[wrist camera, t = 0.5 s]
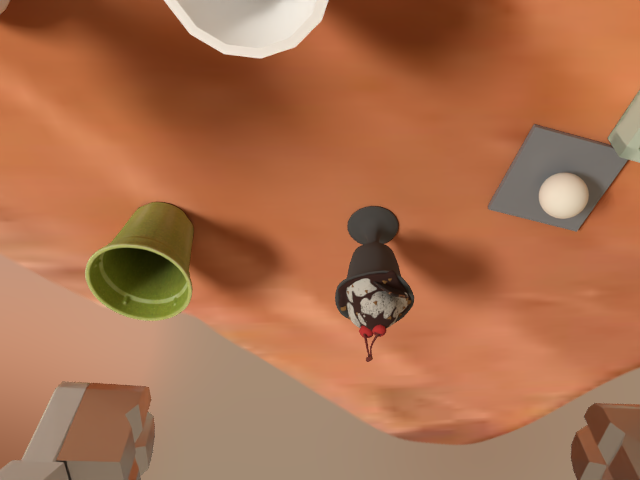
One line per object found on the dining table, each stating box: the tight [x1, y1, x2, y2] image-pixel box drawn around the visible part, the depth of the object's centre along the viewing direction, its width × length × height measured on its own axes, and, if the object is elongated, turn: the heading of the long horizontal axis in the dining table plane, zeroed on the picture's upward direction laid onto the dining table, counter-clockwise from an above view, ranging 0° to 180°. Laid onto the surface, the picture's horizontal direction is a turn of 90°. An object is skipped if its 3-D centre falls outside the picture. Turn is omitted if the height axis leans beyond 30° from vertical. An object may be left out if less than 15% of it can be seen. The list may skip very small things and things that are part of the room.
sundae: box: [335, 206, 414, 362], centre depth 52 cm, size 7×7×15 cm
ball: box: [539, 173, 589, 219], centre depth 51 cm, size 4×4×4 cm
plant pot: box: [85, 202, 194, 321], centre depth 56 cm, size 9×9×9 cm
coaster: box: [488, 124, 628, 231], centre depth 53 cm, size 9×9×1 cm
